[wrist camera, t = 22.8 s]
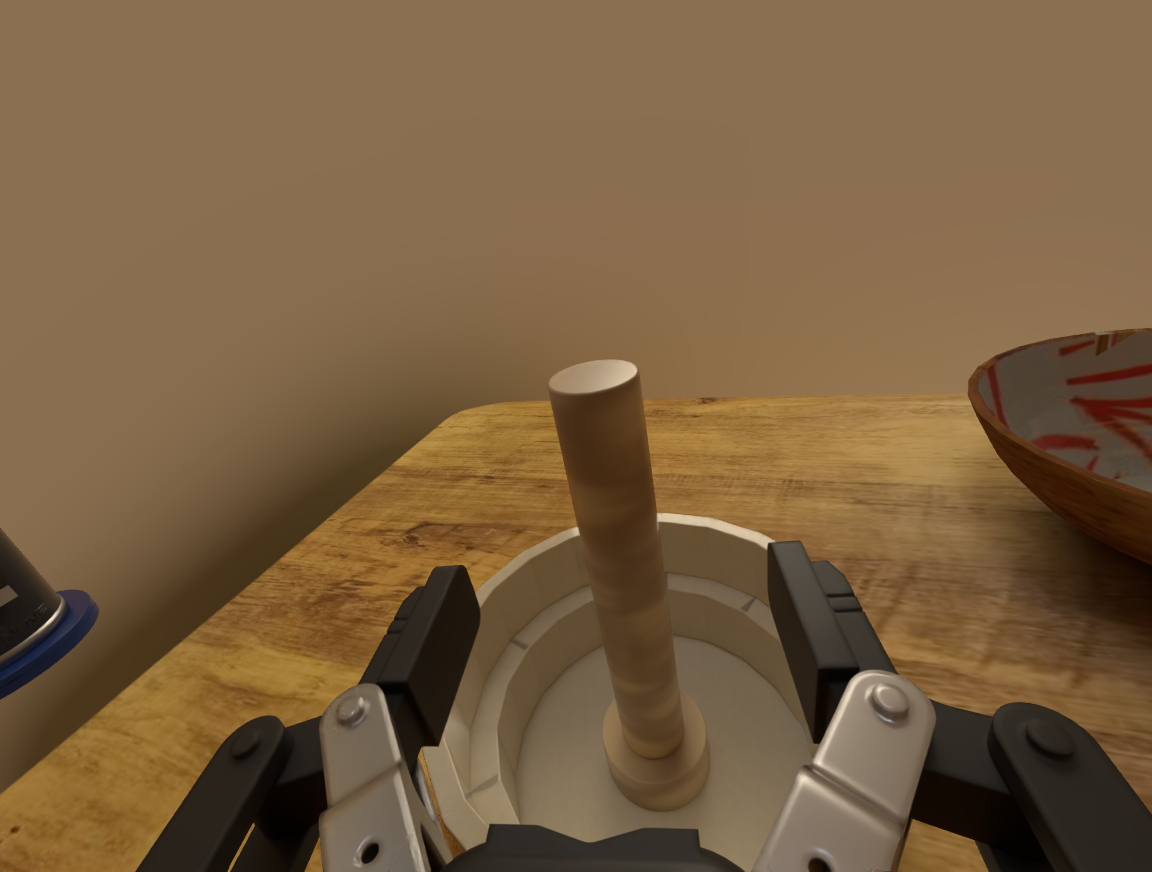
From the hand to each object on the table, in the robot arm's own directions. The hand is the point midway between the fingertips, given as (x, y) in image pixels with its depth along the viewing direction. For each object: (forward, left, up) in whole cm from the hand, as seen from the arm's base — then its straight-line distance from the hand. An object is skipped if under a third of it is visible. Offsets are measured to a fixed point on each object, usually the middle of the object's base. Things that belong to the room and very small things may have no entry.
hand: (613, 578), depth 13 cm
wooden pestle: (0, +3, -13) cm, 14 cm away
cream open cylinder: (0, +3, -14) cm, 14 cm away
